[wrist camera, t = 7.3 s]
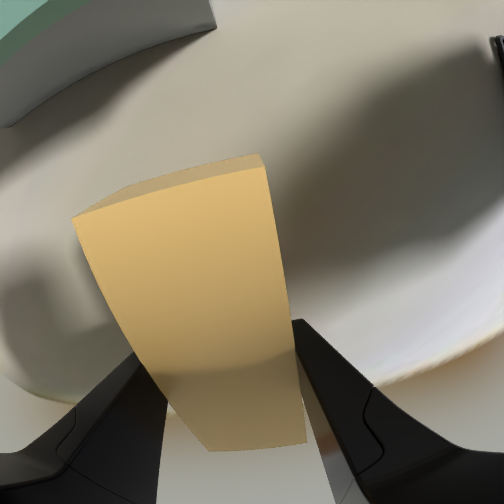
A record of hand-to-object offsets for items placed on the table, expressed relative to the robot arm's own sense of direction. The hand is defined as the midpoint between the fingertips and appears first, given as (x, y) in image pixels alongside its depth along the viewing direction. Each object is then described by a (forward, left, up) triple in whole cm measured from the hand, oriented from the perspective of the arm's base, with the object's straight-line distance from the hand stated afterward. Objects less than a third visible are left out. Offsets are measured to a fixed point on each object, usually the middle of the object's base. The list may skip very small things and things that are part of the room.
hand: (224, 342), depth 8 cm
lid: (+4, -15, +1) cm, 16 cm away
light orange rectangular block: (0, 0, -2) cm, 2 cm away
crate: (+4, -15, -4) cm, 16 cm away
